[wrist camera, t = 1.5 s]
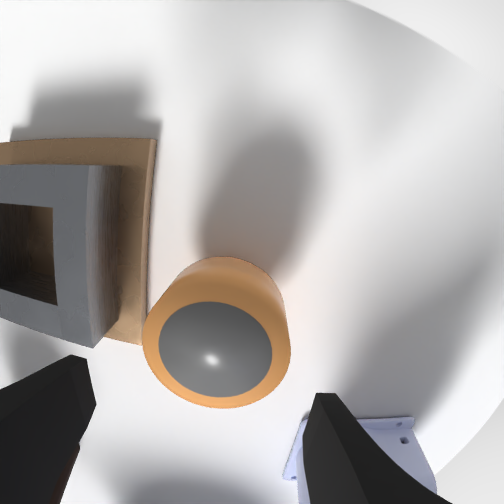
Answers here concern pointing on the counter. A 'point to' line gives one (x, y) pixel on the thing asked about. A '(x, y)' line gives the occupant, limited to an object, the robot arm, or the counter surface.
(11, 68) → the counter surface
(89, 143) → the square frame on board
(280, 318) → the cap
